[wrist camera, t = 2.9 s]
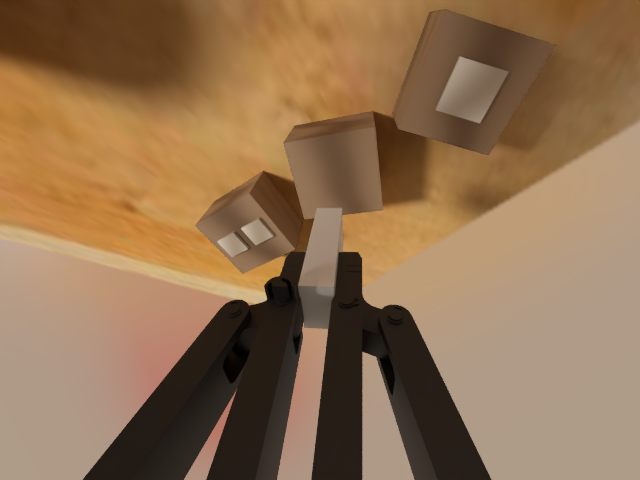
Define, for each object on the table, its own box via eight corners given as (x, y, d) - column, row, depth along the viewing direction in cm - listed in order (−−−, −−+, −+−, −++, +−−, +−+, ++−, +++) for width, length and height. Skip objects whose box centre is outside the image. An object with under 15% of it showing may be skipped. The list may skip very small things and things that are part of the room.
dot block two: (255, 245, 36) (241, 275, 31) (215, 200, 33) (193, 227, 28) (303, 221, 33) (294, 251, 29) (263, 170, 30) (248, 194, 26)
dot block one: (391, 112, 25) (398, 130, 21) (429, 12, 21) (446, 9, 17) (468, 135, 26) (489, 156, 22) (519, 41, 22) (558, 45, 17)
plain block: (311, 194, 31) (304, 219, 27) (294, 125, 27) (283, 142, 23) (380, 184, 29) (383, 210, 25) (372, 110, 25) (375, 126, 21)
